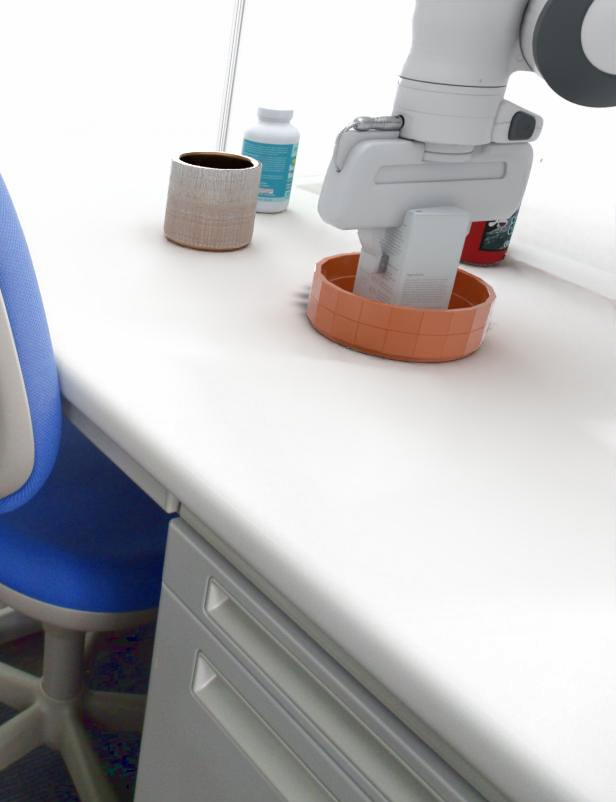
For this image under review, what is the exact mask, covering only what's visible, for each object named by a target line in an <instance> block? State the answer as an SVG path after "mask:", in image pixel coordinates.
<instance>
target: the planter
mask: <svg viewBox="0 0 616 802" xmlns="http://www.w3.org/2000/svg"><path fill="white" fill-rule="evenodd" d="M261 171H262V163H261V162H259V161H258V160H256V159H254V158H251V157H248V156H244V155H241V154H239V153H233V152H227V151H216V150H187V151H182V152H177V153H175V154H173V155H172V156H171V160H170V170H169V177H168V186H167V188H168V189H167V197H166V205H165V211H164V221H163V233H164V235H165V236H166V237H167V238H168V239H170V240H171V241H172V242H173V243H176V244H178V245H180V246H182V247H186V248H191V249H195V250H202V251H214V252H215V251H216V252H220V251H221V252H222V251H233V250H238V249H241V248H243V247H245V246H246V245H249V244H250V243H251V241H252V239H253V235H254V229H255V222H256V215H257V214H256V213H257V212H256V207H257V200H258V192H259V185H260V178H261Z"/></svg>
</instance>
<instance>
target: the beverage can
mask: <svg viewBox="0 0 616 802" xmlns="http://www.w3.org/2000/svg"><path fill="white" fill-rule="evenodd" d="M521 205H522V203H521V204H520V206H519V208H518V209H517V210H516V212H515V213H514V214H513V215H512V216H511V217H510V218H509V219H506V220H491V221H476V222H472V224H471V227H470V231H469V234H468V235H467V236H466V238H465V242H464V246H463V250H462V254H461V257H460V261H459V262H461V263H464V264H468V265H473V266H481V267H482V266H483V267H484V266H485V267H486V266H493V265H495V264H497V263H499V262H502V261H504V260H505V259H506V256H507V252H508V250H509V246H510V243H511V239H512V236H513V232H514V229H515V226H516V223H517V220H518V215H519V212H520V209H521Z"/></svg>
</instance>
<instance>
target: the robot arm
mask: <svg viewBox="0 0 616 802" xmlns="http://www.w3.org/2000/svg"><path fill="white" fill-rule="evenodd" d="M407 29H408V37H407V39H408V40H407V46H406V50H405V51H404V52H405V53H404V56H403V58H402V59H401V61H400V63H399V65H398V68H397V70H396V75H395V80H394V84H393V89H392V93H391V99H390V103H389V108H388V113H387V115H384V116H377V117H370V116H357V117H355V118H354V119H353V120H352V121H351V122H349V123H348V124H347V125H345V126H344V127H343V128H342V129H341V130H340V131H338V133H337V135H336V137H335V140H334V148H333V152H332V155H331V158H330V161H329V164H328V167H327V169H326V173H325V176H324V178H323V182H322V185H321V189H320V193H319V197H318V202H317V206H316V207H317V213H318V215H319V218H320V220H321V221H322V222H324V223H326V224H328V225H329V226H331V227H333V228H336V229H338V230H341V231H355V230H357V233H356V234H357V237H358V239H359V243H360V245H361V247H362V248H363V251H364V256H363V260H362V265H361V266H362V270H363V271H365V272H366V273H368V274H379V273H385V272H386V269H387V266H386V265H387V264H388V260H389V256H388V255H386V254H384V253H382V251H381V246H380V242H379V239H384V238H385V234H386V230H387V227H400V226H401V225H402V223H403V221H404V217H405V213H406V211H408V210H411V209H418V208H428V207H440V206H456V207H458V208H460V209H462V210H464V211H466V212H468V213H471V218H470V222H469V226H468V229H467V233H466V236H467V235H468V234H469V231H470V227H471V224H472V222H476V221H491V220H506V219H509V218H510V217H511V216H512V215H513V214H514V213H515V212H516V210H517V209H518V208H519V206H520V204H521V205H522V202H523V199H524V196H525V192H526V190H527V187H528V183H529V179H530V174H531V171H532V167H533V162H534V149H533V146H532V144H531V143H532V142H535V141H537V140H538V139H539V138H540V135H541V133H542V129H543V127H544V119H543V117H542V116H541V115H539V114H537V113H535V112H533V111H531V110H528V109H526V108H524V107H522V106H520V105H518V104H516V103H514V102H512V101H511V100H509V99H505V98H504V97H505V94H506V90H507V87H508V83H509V79H510V77H511V75H512V74H514V73H516V72H530V73H531V72H532V73H535V74H536V76H538V77H539V78H540V79H542V80H544V81H545V83H546V84H547V86H548V87H549V88H550V89H551V90H552V91H553V92H554V93H555V94H556V95H557V96H558V97H560V98H561V99H563V100H566V101H567V102H569V103H571V104H574V105H577V106H580V107H585V108H586V107H587V108H594V109H605V108H614V107H616V0H411V4H410V7H409V12H408V17H407ZM520 207H521V206H520Z"/></svg>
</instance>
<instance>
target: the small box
mask: <svg viewBox="0 0 616 802" xmlns="http://www.w3.org/2000/svg"><path fill="white" fill-rule="evenodd" d="M470 218H471V213H468V212H466V211H464V210H462V209H460V208H458V207H456V206H440V207H428V208H418V209H411V210H408V211H406V213H405V217H404V221H403V223H402V225H401V226H400V227H387V230H386V234H385V238H384V239H379V242H380V246H381V251H382V253H384V254H386V255H388V256H389V260H388V264H387V265H386V266H387V269H386V272H385V273H379V274H368V273H366V272H365V271H363V270H362V266H361V265H362V260H363V256H364V251H363V248H362V246H361V248H360V251H359V252H360V258H359V263H358V268H357V273H356V278H355V283H354V288H353V292H352V293H353V294H356V295H359V296H361V297H364V298H367V299H371V300H376V301H380V302H384V303H388V304H392V305H399V306H406V307H413V308H420V309H445V310H447V309H448V305H449V301H450V297H451V293H452V289H453V285H454V281H455V277H456V273H457V269H458V268H459V266H460V262H461V261H460V257H461V254H462V250H463V246H464V242H465V238H466V233H467V229H468V226H469V222H470Z"/></svg>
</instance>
